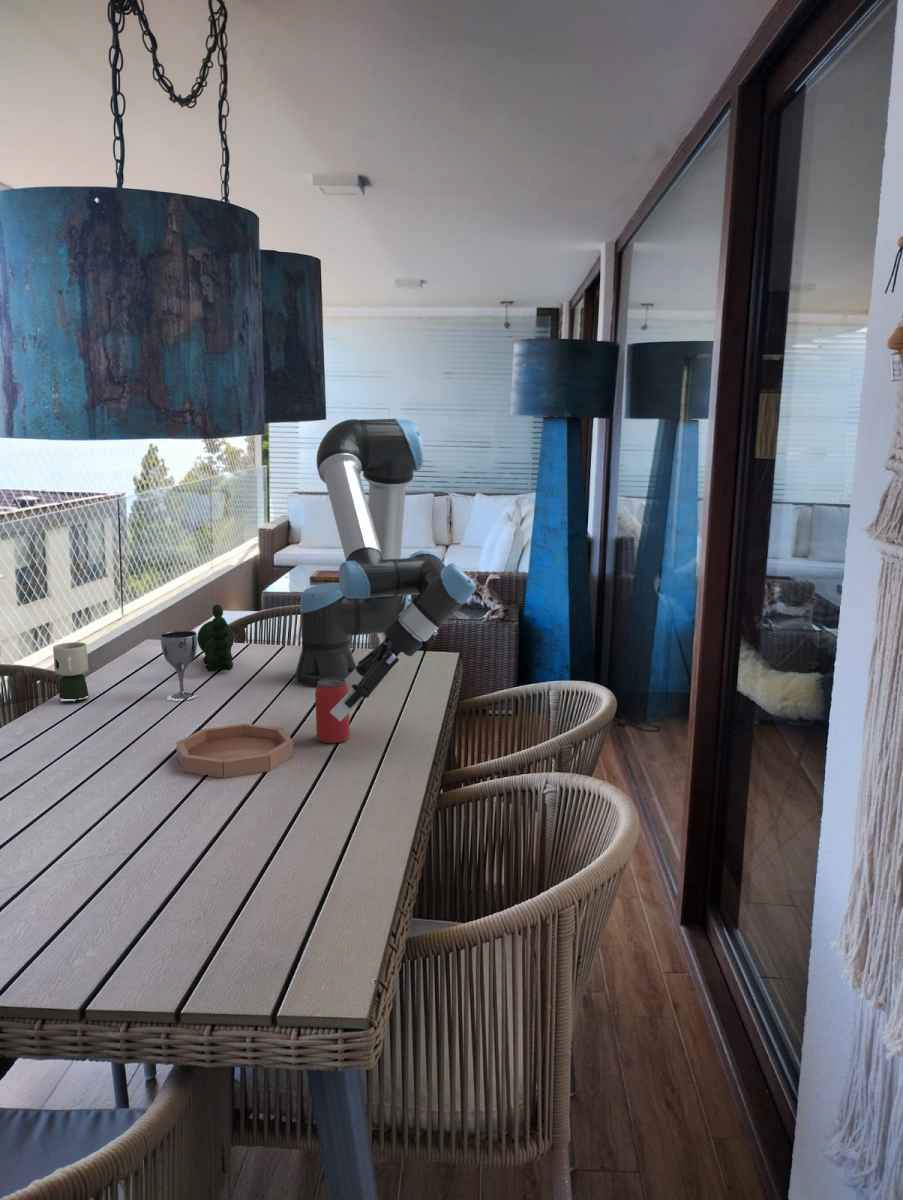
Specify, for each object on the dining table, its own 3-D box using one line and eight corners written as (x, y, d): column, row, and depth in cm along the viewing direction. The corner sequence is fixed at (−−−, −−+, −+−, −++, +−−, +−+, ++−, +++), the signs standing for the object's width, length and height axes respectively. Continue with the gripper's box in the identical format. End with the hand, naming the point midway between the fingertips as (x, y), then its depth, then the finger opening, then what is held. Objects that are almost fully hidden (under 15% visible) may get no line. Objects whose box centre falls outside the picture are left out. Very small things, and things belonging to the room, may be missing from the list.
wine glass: (199, 700, 217) (196, 636, 214) (163, 703, 215) (159, 638, 213) (200, 691, 225) (196, 629, 222) (165, 693, 223) (161, 631, 220)
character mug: (60, 695, 222) (56, 641, 219) (93, 693, 224) (88, 639, 221) (54, 709, 212) (49, 652, 209) (88, 706, 213) (84, 650, 211)
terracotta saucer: (172, 747, 186) (171, 733, 185) (275, 733, 194) (274, 719, 194) (189, 783, 168) (188, 767, 167) (302, 766, 176) (301, 750, 175)
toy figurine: (241, 682, 239) (232, 650, 262) (238, 609, 234) (229, 584, 257) (202, 685, 236) (196, 653, 259) (199, 612, 231) (193, 586, 254)
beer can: (344, 745, 187) (342, 686, 185) (312, 743, 188) (310, 685, 186) (353, 734, 193) (352, 677, 191) (322, 732, 195) (320, 676, 192)
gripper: (428, 658, 176) (348, 738, 177) (421, 629, 200) (351, 700, 202) (398, 630, 174) (319, 712, 176) (395, 605, 199) (325, 677, 200)
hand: (336, 706), depth 189 cm, fingers open, 13 cm apart
